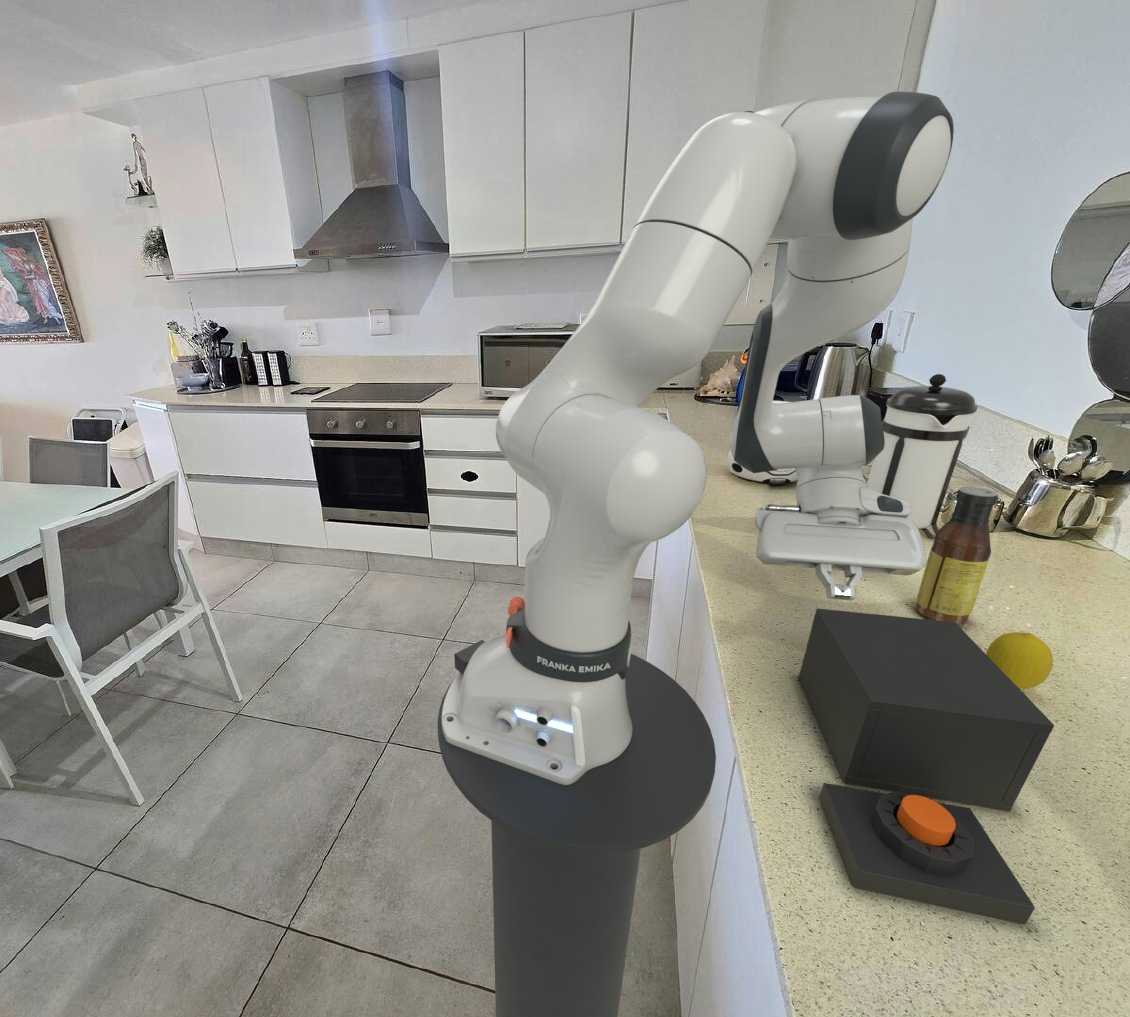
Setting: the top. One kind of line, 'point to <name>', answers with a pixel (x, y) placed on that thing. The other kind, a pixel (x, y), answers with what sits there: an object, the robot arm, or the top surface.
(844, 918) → the top surface
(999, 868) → the control block
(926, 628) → the charcoal drawer unit
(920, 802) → the button
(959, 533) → the sauce bottle
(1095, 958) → the top surface
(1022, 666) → the lemon
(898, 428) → the coffee press
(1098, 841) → the top surface
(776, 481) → the doce de leite jar
